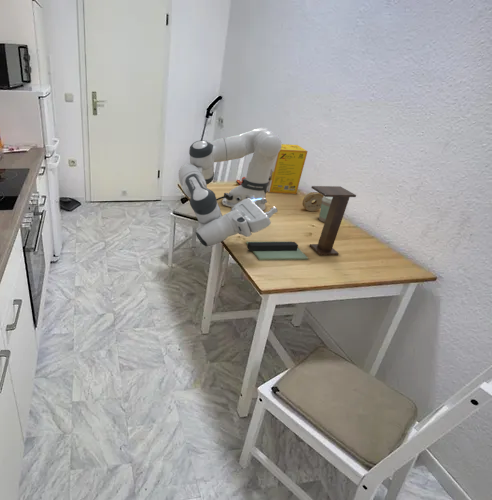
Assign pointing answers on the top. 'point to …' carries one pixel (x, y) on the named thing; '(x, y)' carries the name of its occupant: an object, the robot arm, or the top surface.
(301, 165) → the packaging box
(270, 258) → the base pad
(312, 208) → the stone disc
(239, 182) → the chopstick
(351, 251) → the top surface
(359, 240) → the top surface
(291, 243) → the black bar
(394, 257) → the top surface
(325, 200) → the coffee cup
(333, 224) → the shelf stand
